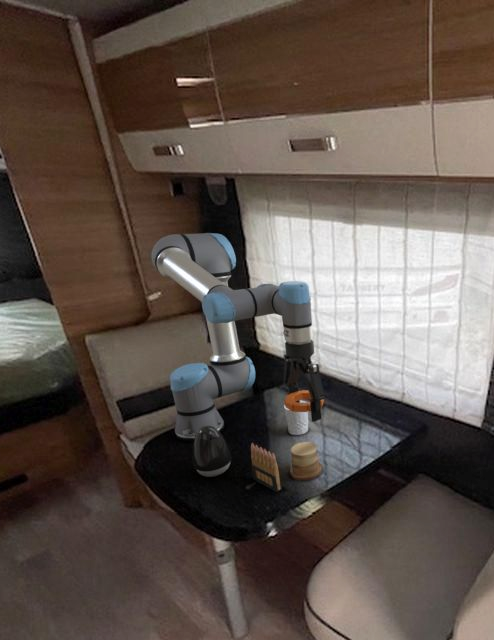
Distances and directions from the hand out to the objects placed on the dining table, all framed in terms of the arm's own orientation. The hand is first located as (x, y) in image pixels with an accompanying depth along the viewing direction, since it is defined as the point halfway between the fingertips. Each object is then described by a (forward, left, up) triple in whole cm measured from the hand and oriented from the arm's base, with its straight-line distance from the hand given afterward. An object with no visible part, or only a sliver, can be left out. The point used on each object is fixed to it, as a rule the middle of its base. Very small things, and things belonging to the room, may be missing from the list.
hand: (305, 413), depth 121 cm
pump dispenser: (-17, -22, -18) cm, 33 cm away
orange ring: (0, 0, +3) cm, 3 cm away
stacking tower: (+2, -3, -18) cm, 18 cm away
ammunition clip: (-1, -14, -18) cm, 23 cm away
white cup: (-21, +9, -18) cm, 29 cm away
